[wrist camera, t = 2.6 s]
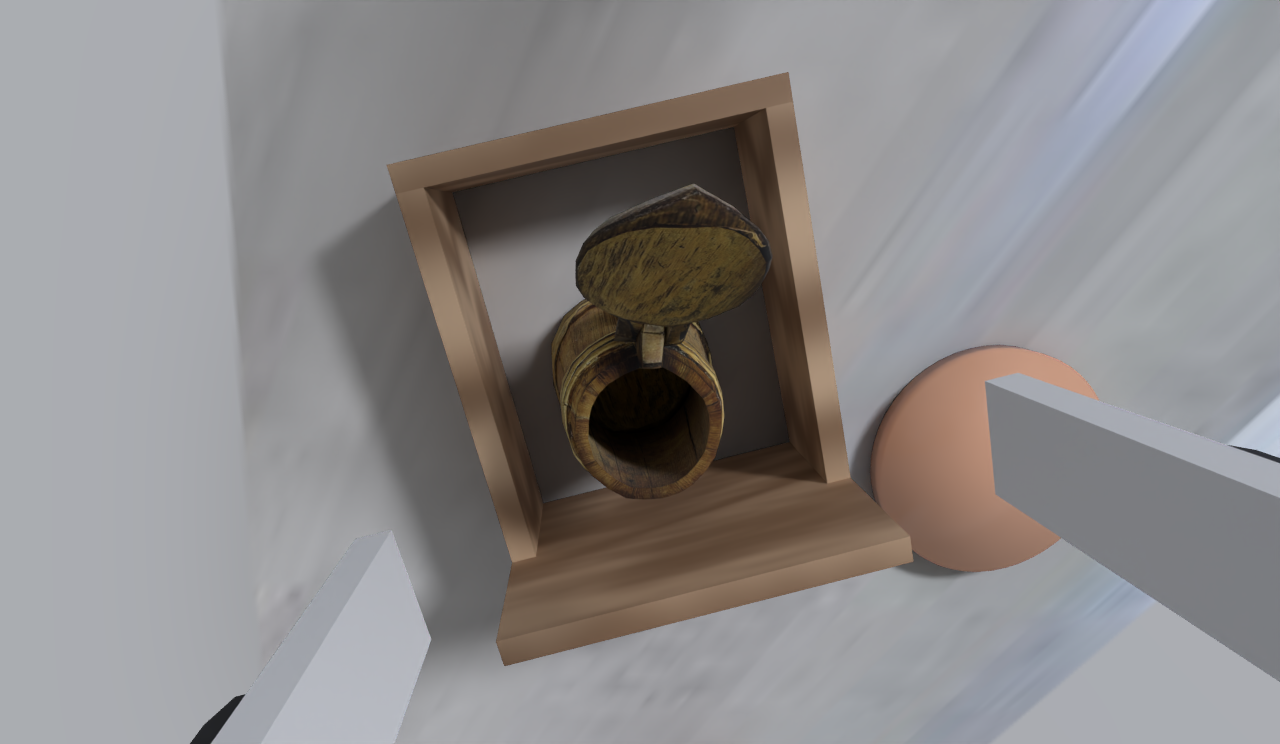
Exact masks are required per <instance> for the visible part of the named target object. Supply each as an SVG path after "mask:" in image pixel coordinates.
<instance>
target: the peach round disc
mask: <svg viewBox="0 0 1280 744" xmlns="http://www.w3.org/2000/svg"><path fill="white" fill-rule="evenodd" d="M1015 373H1021V374H1023V375H1026V376H1029V377H1032V378H1035V379H1038V380H1041V381H1044V382H1047V383H1049V384H1052V385H1055V386H1058V387H1061V388H1064V389H1067V390H1070V391H1072V392H1075V393H1078V394H1081V395H1084V396H1087V397H1090V398H1093V399H1096V400H1098V401H1099V399H1098V397H1097V395H1096V394H1095V392H1094V391H1093V389H1092V387H1091V386H1090V385H1089V384H1088V383H1087V381H1086V380H1085V379H1084V378H1083V377H1082V376H1081V375H1080V374H1079V373H1078V372H1076V371H1075V370H1074V369H1073V368H1072V367H1070V366H1068V365H1067V364H1065V363H1063V362H1062V361H1060V360H1058V359H1055V358H1053V357H1050V356H1048V355H1045V354H1041V353H1038V352H1035V351H1032V350H1028V349H1024V348H1020V347H1016V346H1006V345H989V346H981V347H975V348H970V349H967V350H964V351H960V352H957V353H954V354H952V355H950V356H948V357H946V358H943V359H941V360H940V361H938V362H936V363H935V364H933V365H931V366H930V367H928V368H927V369H925V370H924V371H923V372H921V373H920V374H919V375H918V376H916V377H915V378H914V379H913V380H912V381H911V382H910V383H909V384H908V385H907V386H906V387H905V388H904V389H903V390H902V391H901V392H900V394H899V395H898V396H897V397H896V399H895V400H894V401H893V403H892V404H891V406H890V407H889V409H888V411H887V412H886V414H885V416H884V418H883V420H882V422H881V424H880V426H879V428H878V431H877V434H876V437H875V440H874V444H873V449H872V454H871V466H870V474H871V485H872V490H873V495H874V498H875V501H876V503H877V504H878V505H879V506H880V507H881V508H882V509H883V510H884V511H885V512H886V513H887V514H888V515H889V516H890V517H891V518H892V519H893V520H894V521H895V522H896V523H897V524H898V525H899V526H900V527H901V528H902V529H903V530H904V531H905V532H906V533H907V534H908V535H909V536H910V539H911V546H912V550H913V551H914V552H916V553H917V554H919V555H920V556H921V557H923V558H924V559H926V560H928V561H930V562H932V563H934V564H936V565H939V566H942V567H946V568H949V569H954V570H959V571H970V572H981V571H992V570H997V569H1002V568H1006V567H1009V566H1013V565H1016V564H1019V563H1021V562H1023V561H1026V560H1028V559H1030V558H1032V557H1034V556H1036V555H1038V554H1039V553H1041V552H1043V551H1044V550H1046V549H1047V548H1049V547H1050V546H1052V545H1053V544H1054V543H1056V542H1057V541H1058V540H1059V539H1060V538H1061V537H1059V536H1058V535H1056V534H1055V533H1053V532H1052V531H1050V530H1049V529H1047V528H1046V527H1044V526H1043V525H1041V524H1040V523H1038V522H1036V521H1035V520H1033V519H1032V518H1030V517H1029V516H1027V515H1026V514H1024V513H1023V512H1021V511H1020V510H1018V509H1017V508H1015V507H1014V506H1012V505H1011V504H1009V503H1008V502H1006V501H1005V500H1003V499H1002V498H1000V497H999V496H997V495H996V494H995V485H994V474H993V463H992V453H991V442H990V431H989V421H988V410H987V399H986V389H985V381H987V380H991V379H995V378H999V377H1003V376H1007V375H1011V374H1015Z"/></svg>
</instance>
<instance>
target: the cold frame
mask: <svg viewBox="0 0 1280 744" xmlns="http://www.w3.org/2000/svg"><path fill="white" fill-rule="evenodd" d="M731 127H734V131H735V136H736V142H737V147H738V153H739V159H740V164H741V170H742V176H743V181H744V187H745V193H746V198H747V204H748V210H749V215H750V221H751V222H752V223H754V224H755V225H756V226H758V227H759V229H760V230H761V231H762V233H763V234H764V235H765V237H766V238H767V239H768V241H769V243H770V247H771V251H772V255H773V258H772V261H771V265H770V269H769V271H768V273H767V274H766V276H765V278H764V280H763V282H762V289H763V294H764V300H765V305H766V311H767V317H768V322H769V328H770V334H771V339H772V345H773V351H774V356H775V362H776V367H777V373H778V379H779V384H780V390H781V396H782V401H783V407H784V413H785V418H786V424H787V430H788V435H789V441H790V442H788V443H784V444H780V445H776V446H772V447H768V448H764V449H760V450H756V451H752V452H748V453H743V454H739V455H735V456H731V457H727V458H723V459H719V460H715V461H712V462H711V464H710V465H709V467H708V468H707V470H706V471H705V473H704V474H703V475H702V476H701V477H700V478H699V479H698V480H697V481H696V482H695V483H694V484H693V485H692V486H690V487H688V488H687V489H685V490H684V491H682V492H680V493H678V494H675V495H672V496H669V497H665V498H660V499H628V498H625V497H623V496H621V495H619V494H617V493H615V492H613V491H611V490H609V489H608V488H603V489H599V490H595V491H591V492H587V493H583V494H579V495H575V496H571V497H567V498H562V499H558V500H554V501H550V502H546V503H543V500H542V497H541V494H540V490H539V487H538V483H537V480H536V477H535V473H534V470H533V466H532V463H531V459H530V456H529V453H528V449H527V446H526V442H525V439H524V436H523V432H522V429H521V425H520V422H519V419H518V415H517V412H516V408H515V405H514V402H513V398H512V395H511V391H510V388H509V384H508V381H507V378H506V374H505V371H504V367H503V364H502V361H501V357H500V354H499V350H498V347H497V344H496V340H495V337H494V333H493V330H492V327H491V323H490V320H489V316H488V313H487V309H486V306H485V303H484V299H483V296H482V292H481V289H480V286H479V282H478V279H477V275H476V272H475V269H474V265H473V262H472V258H471V255H470V252H469V248H468V245H467V241H466V238H465V234H464V231H463V228H462V224H461V221H460V217H459V214H458V211H457V207H456V204H455V200H454V197H453V194H452V193H453V192H457V191H461V190H465V189H470V188H474V187H478V186H483V185H487V184H491V183H495V182H500V181H504V180H508V179H513V178H517V177H521V176H525V175H530V174H534V173H538V172H543V171H547V170H551V169H555V168H560V167H564V166H568V165H573V164H577V163H581V162H585V161H590V160H594V159H598V158H603V157H607V156H611V155H615V154H620V153H624V152H628V151H633V150H637V149H641V148H645V147H650V146H654V145H658V144H663V143H667V142H671V141H675V140H680V139H684V138H688V137H693V136H697V135H701V134H705V133H710V132H714V131H718V130H723V129H727V128H731ZM387 168H388V171H389V174H390V177H391V180H392V183H393V187H394V190H395V193H396V196H397V199H398V202H399V206H400V209H401V212H402V215H403V218H404V221H405V225H406V228H407V231H408V234H409V237H410V240H411V244H412V247H413V250H414V253H415V256H416V259H417V263H418V266H419V269H420V272H421V275H422V278H423V282H424V285H425V288H426V291H427V294H428V297H429V301H430V304H431V307H432V310H433V313H434V316H435V320H436V323H437V326H438V329H439V332H440V335H441V339H442V342H443V345H444V348H445V351H446V354H447V358H448V361H449V364H450V367H451V370H452V373H453V377H454V380H455V383H456V386H457V389H458V392H459V396H460V399H461V402H462V405H463V408H464V411H465V415H466V418H467V421H468V424H469V427H470V430H471V434H472V437H473V440H474V443H475V446H476V449H477V453H478V456H479V459H480V462H481V465H482V468H483V472H484V475H485V478H486V481H487V484H488V487H489V491H490V494H491V497H492V500H493V503H494V506H495V510H496V513H497V516H498V519H499V522H500V525H501V529H502V532H503V535H504V538H505V541H506V544H507V548H508V551H509V554H510V557H511V560H512V566H511V571H510V576H509V581H508V586H507V591H506V596H505V600H504V605H503V610H502V615H501V620H500V625H499V630H498V635H497V639H496V643H497V646H498V649H499V652H500V655H501V658H502V661H503V664H504V666H507V665H511V664H515V663H519V662H523V661H527V660H531V659H535V658H539V657H542V656H546V655H550V654H554V653H558V652H562V651H566V650H570V649H574V648H578V647H582V646H585V645H589V644H593V643H597V642H601V641H605V640H609V639H613V638H617V637H621V636H625V635H629V634H632V633H636V632H640V631H644V630H648V629H652V628H656V627H660V626H664V625H668V624H672V623H675V622H679V621H683V620H687V619H691V618H695V617H699V616H703V615H707V614H711V613H715V612H718V611H722V610H726V609H730V608H734V607H738V606H742V605H746V604H750V603H754V602H758V601H761V600H765V599H769V598H773V597H777V596H781V595H785V594H789V593H793V592H797V591H801V590H805V589H808V588H812V587H816V586H820V585H824V584H828V583H832V582H836V581H840V580H844V579H848V578H851V577H855V576H859V575H863V574H867V573H871V572H875V571H879V570H883V569H887V568H891V567H894V566H898V565H902V564H906V563H910V562H913V554H912V546H911V539H910V536H909V535H908V534H907V533H906V532H905V531H904V530H903V529H902V528H901V527H900V526H899V525H898V524H897V523H896V522H895V521H894V520H893V519H892V518H891V517H890V516H889V515H888V514H887V513H886V512H885V511H884V510H883V509H882V508H881V507H880V506H879V505H878V504H877V503H876V502H875V501H874V500H873V499H872V498H871V497H870V496H869V495H868V494H867V493H866V492H865V491H863V490H862V489H861V488H860V487H859V486H858V485H857V484H856V483H855V482H854V481H853V480H852V479H851V478H850V471H849V465H848V458H847V452H846V445H845V439H844V432H843V426H842V419H841V413H840V406H839V400H838V393H837V386H836V380H835V373H834V367H833V360H832V354H831V347H830V341H829V334H828V328H827V321H826V315H825V308H824V302H823V295H822V288H821V282H820V275H819V269H818V262H817V256H816V249H815V243H814V236H813V230H812V223H811V217H810V210H809V203H808V197H807V190H806V184H805V177H804V171H803V164H802V158H801V151H800V145H799V138H798V132H797V125H796V118H795V112H794V105H793V99H792V92H791V86H790V79H789V73H788V72H787V73H782V74H778V75H774V76H769V77H765V78H761V79H756V80H752V81H748V82H743V83H739V84H735V85H730V86H726V87H722V88H717V89H713V90H709V91H704V92H700V93H696V94H691V95H687V96H683V97H678V98H674V99H670V100H665V101H661V102H657V103H652V104H648V105H644V106H640V107H635V108H631V109H627V110H622V111H618V112H614V113H609V114H605V115H601V116H596V117H592V118H588V119H583V120H579V121H575V122H570V123H566V124H562V125H557V126H553V127H549V128H544V129H540V130H536V131H531V132H527V133H523V134H518V135H514V136H510V137H506V138H501V139H497V140H493V141H488V142H484V143H480V144H475V145H471V146H467V147H462V148H458V149H454V150H449V151H445V152H441V153H436V154H432V155H428V156H423V157H419V158H415V159H410V160H406V161H402V162H397V163H393V164H389V165H387Z"/></svg>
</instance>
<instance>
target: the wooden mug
mask: <svg viewBox="0 0 1280 744" xmlns="http://www.w3.org/2000/svg"><path fill="white" fill-rule="evenodd" d="M772 258H773V255H772V251H771V247H770V243H769V241H768V239H767V238H766V237H765V235H764V234H763V233H762V231H761V230H760V229H759V227H758V226H756V225H755V224H754V223H752V222H751V221H750V220H749V219H747V218H746V217H745V216H744V215H742V214H741V213H740V212H739V211H738V210H737V209H736V208H735V207H733V206H732V205H730V204H728V203H726V202H725V201H723V200H721V199H719V198H718V197H716V196H714V195H712V194H711V193H709V192H707V191H706V190H704V189H702V188H701V187H699V186H697V185H696V184H691V185H688V186H686V187H683V188H680V189H677V190H674V191H672V192H669V193H666V194H663V195H660V196H657V197H655V198H653V199H650V200H648V201H646V202H644V203H642V204H639V205H637V206H635V207H633V208H630V209H628V210H626V211H624V212H622V213H619V214H617V215H615V216H613V217H610V218H609V219H608V220H606V221H605V222H604V223H603V224H601V225H600V226H599V227H598V228H596V229H595V230H594V231H593V232H592V233H591V235H590V236H589V237H588V238H587V240H586V241H585V242H584V243H583V245H582V247H581V250H580V252H579V255H578V257H577V259H576V286H577V288H578V289H579V291H580V292H581V294H582V295H583V297H584V298H585V299H584V300H583V301H581V302H580V303H579V304H577V305H576V306H575V307H574V308H573V309H572V310H571V311H569V312H568V313H567V314H566V315H565V316H564V317H563V320H562V322H561V324H560V326H559V328H558V331H557V333H556V335H555V337H554V340H553V342H552V344H551V348H552V369H553V384H554V388H555V391H556V394H557V397H558V400H559V403H560V406H561V413H562V423H563V425H564V428H565V431H566V433H567V436H568V439H569V442H570V445H571V448H572V451H573V454H574V456H575V457H576V458H577V460H578V461H579V462H580V463H581V465H582V466H583V467H584V468H585V469H586V470H587V471H588V472H590V474H591V475H592V476H593V477H594V478H596V479H597V480H598V481H599V482H601V483H602V484H603V485H604V486H606V487H607V488H608V489H609V490H611V491H613V492H615V493H617V494H619V495H621V496H623V497H625V498H628V499H660V498H665V497H669V496H672V495H675V494H678V493H680V492H682V491H684V490H685V489H687V488H688V487H690V486H692V485H693V484H694V483H695V482H696V481H697V480H698V479H699V478H700V477H701V476H702V475H703V474H704V473H705V471H706V470H707V468H708V467H709V465H710V464H711V462H712V461H713V459H714V458H715V456H716V453H717V449H718V446H719V442H720V438H721V435H722V430H723V422H724V408H723V398H722V390H721V387H720V384H719V382H718V379H717V376H716V373H715V370H714V369H713V367H712V361H711V353H710V350H709V347H708V344H707V342H706V339H705V337H704V335H703V332H702V330H701V327H700V325H699V323H698V321H701V320H705V319H709V318H711V317H714V316H716V315H719V314H721V313H723V312H726V311H728V310H731V309H733V308H735V307H738V306H740V305H741V304H742V303H744V302H745V301H746V300H747V299H749V298H750V297H751V296H752V295H754V293H755V292H756V291H757V289H758V288H759V287H760V285H761V284H762V282H763V280H764V278H765V276H766V274H767V273H768V271H769V269H770V265H771V261H772Z"/></svg>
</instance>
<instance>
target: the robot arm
mask: <svg viewBox="0 0 1280 744" xmlns="http://www.w3.org/2000/svg"><path fill="white" fill-rule="evenodd" d="M985 389H986V399H987V410H988V421H989V431H990V442H991V453H992V463H993V474H994V485H995V494H996V495H997V496H999V497H1000V498H1002V499H1003V500H1005V501H1006V502H1008V503H1009V504H1011V505H1012V506H1014V507H1015V508H1017V509H1018V510H1020V511H1021V512H1023V513H1024V514H1026V515H1027V516H1029V517H1030V518H1032V519H1033V520H1035V521H1036V522H1038V523H1040V524H1041V525H1043V526H1044V527H1046V528H1047V529H1049V530H1050V531H1052V532H1053V533H1055V534H1056V535H1058V536H1059V537H1061V538H1062V539H1064V540H1065V541H1067V542H1068V543H1070V544H1071V545H1073V546H1074V547H1076V548H1077V549H1079V550H1080V551H1082V552H1084V553H1085V554H1087V555H1088V556H1090V557H1091V558H1093V559H1094V560H1096V561H1097V562H1099V563H1100V564H1102V565H1103V566H1105V567H1106V568H1108V569H1109V570H1111V571H1112V572H1114V573H1115V574H1117V575H1118V576H1120V577H1121V578H1123V579H1125V580H1126V581H1128V582H1129V583H1131V584H1132V585H1134V586H1135V587H1137V588H1138V589H1140V590H1141V591H1143V592H1144V593H1146V594H1147V595H1149V596H1150V597H1152V598H1153V599H1155V600H1156V601H1158V602H1159V603H1161V604H1162V605H1164V606H1166V607H1167V608H1169V609H1170V610H1172V611H1173V612H1175V613H1176V614H1178V615H1179V616H1181V617H1182V618H1184V619H1185V620H1187V621H1188V622H1190V623H1191V624H1193V625H1194V626H1196V627H1197V628H1199V629H1200V630H1202V631H1203V632H1205V633H1207V634H1208V635H1209V636H1211V637H1213V638H1214V639H1216V640H1217V641H1219V642H1220V643H1222V644H1223V645H1225V646H1226V647H1228V648H1229V649H1231V650H1232V651H1234V652H1235V653H1237V654H1238V655H1240V656H1241V657H1243V658H1244V659H1246V660H1247V661H1249V662H1251V663H1252V664H1253V665H1255V666H1257V667H1258V668H1260V669H1261V670H1263V671H1264V672H1266V673H1267V674H1269V675H1270V676H1272V677H1273V678H1275V679H1276V680H1278V681H1279V682H1280V458H1278V457H1275V456H1272V455H1269V454H1266V453H1263V452H1260V451H1257V450H1252V449H1247V448H1241V447H1236V446H1230V445H1225V444H1223V443H1220V442H1217V441H1214V440H1211V439H1208V438H1205V437H1202V436H1199V435H1197V434H1194V433H1191V432H1188V431H1185V430H1182V429H1179V428H1176V427H1173V426H1171V425H1168V424H1165V423H1162V422H1159V421H1156V420H1153V419H1150V418H1147V417H1145V416H1142V415H1139V414H1136V413H1133V412H1130V411H1127V410H1124V409H1122V408H1119V407H1116V406H1113V405H1110V404H1107V403H1104V402H1101V401H1098V400H1096V399H1093V398H1090V397H1087V396H1084V395H1081V394H1078V393H1075V392H1072V391H1070V390H1067V389H1064V388H1061V387H1058V386H1055V385H1052V384H1049V383H1047V382H1044V381H1041V380H1038V379H1035V378H1032V377H1029V376H1026V375H1023V374H1021V373H1015V374H1011V375H1007V376H1003V377H999V378H995V379H991V380H987V381H985ZM430 642H431V637H430V634H429V632H428V629H427V626H426V623H425V621H424V618H423V615H422V612H421V609H420V607H419V604H418V601H417V598H416V596H415V593H414V590H413V587H412V585H411V582H410V579H409V576H408V574H407V571H406V568H405V565H404V563H403V560H402V557H401V554H400V552H399V549H398V546H397V543H396V541H395V538H394V535H393V532H392V530H389V531H385V532H381V533H377V534H373V535H369V536H365V537H361V538H357V539H355V541H354V542H353V543H352V545H351V546H350V548H349V549H348V550H347V552H346V553H345V555H344V556H343V558H342V559H341V560H340V562H339V563H338V565H337V566H336V567H335V569H334V570H333V572H332V573H331V574H330V576H329V577H328V579H327V580H326V582H325V583H324V584H323V586H322V587H321V589H320V590H319V591H318V593H317V594H316V596H315V597H314V599H313V600H312V601H311V603H310V604H309V606H308V607H307V608H306V610H305V611H304V613H303V614H302V615H301V617H300V618H299V620H298V621H297V623H296V624H295V625H294V627H293V628H292V630H291V631H290V632H289V634H288V635H287V637H286V638H285V640H284V641H283V642H282V644H281V645H280V647H279V648H278V649H277V651H276V652H275V654H274V655H273V657H272V658H271V659H270V661H269V662H268V664H267V665H266V666H265V668H264V669H263V671H262V672H261V673H260V675H259V676H258V678H257V679H256V681H255V682H254V683H253V685H252V686H251V688H250V689H249V690H248V692H247V693H246V694H245V695H241V696H237V697H235V698H233V699H232V700H231V701H230V702H229V703H228V704H227V705H226V706H224V708H222V709H221V710H220V711H219V712H218V713H217V714H216V715H215V716H213V717H212V718H211V719H210V720H209V721H208V722H207V723H206V724H205V725H204V726H203V727H202V728H201V730H200V731H199V732H198V734H197V735H196V736H195V738H194V739H193V740H192V742H191V743H190V744H394V743H395V740H396V738H397V735H398V732H399V729H400V726H401V724H402V721H403V718H404V715H405V712H406V710H407V707H408V704H409V701H410V698H411V696H412V693H413V690H414V687H415V684H416V681H417V679H418V676H419V673H420V670H421V667H422V665H423V662H424V659H425V656H426V653H427V651H428V648H429V645H430Z"/></svg>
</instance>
